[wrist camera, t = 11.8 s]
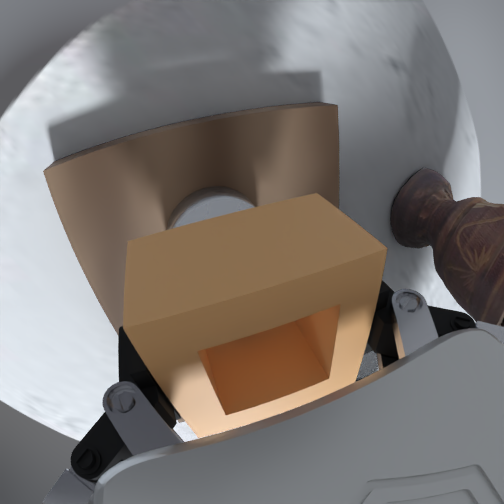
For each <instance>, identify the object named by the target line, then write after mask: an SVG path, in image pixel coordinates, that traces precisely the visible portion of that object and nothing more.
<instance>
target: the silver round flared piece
mask: <svg viewBox="0 0 504 504" xmlns="http://www.w3.org/2000/svg"><path fill="white" fill-rule="evenodd" d="M254 207H255V206H254V205H253V204H252V202H251V201H250V200H249V199H248V198H247V197H246V196H245V195H243V194H242V193H241V192H239V191H237V190H234V189H232V188H228V187H222V186H212V187H206V188H202V189H199V190H197V191H195V192H193V193H191V194H189V195H188V196H186V197H185V198H184V199H183V200H182V201H181V202H180V203H179V204H178V205H177V206H176V208H175V209H174V210H173V212H172V214H171V216H170V219H169V222H168V227H167V230H169V229H173V228H176V227H180V226H184V225H187V224H191V223H195V222H199V221H202V220H206V219H210V218H214V217H218V216H222V215H226V214H230V213H233V212H238V211H242V210H246V209H250V208H254Z"/></svg>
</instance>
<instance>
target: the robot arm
mask: <svg viewBox="0 0 504 504" xmlns="http://www.w3.org/2000/svg"><path fill="white" fill-rule="evenodd" d="M372 350H373V351H374V352H375V353H377V359H378V366H379V371H377V372H375V373H373V374H371V375H369V376H367V377H365V378H363V379H361V380H359V381H356V382H354V383H352V384H350V385H348V386H346V387H344V388H341V389H339V390H337V391H335V392H333V393H331V394H329V395H326V396H324V397H322V398H319V399H317V400H314V401H312V402H310V403H307V404H305V405H302V406H300V407H297V408H294V409H292V410H289V411H286V412H284V413H281V414H278V415H275V416H273V417H270V418H267V419H264V420H261V421H258V422H255V423H252V424H249V425H246V426H242V427H239V428H236V429H232V430H229V431H225V432H222V433H218V434H215V435H211V436H207V437H203V438H200V439H196V440H192V441H188V442H184V441H183V440H182V439H181V438H180V436H179V435H178V434H177V433H176V432H175V431H174V430H173V428H174V426H175V425H176V423H177V422H176V420H178V419H181V416H180V414H179V412H178V411H177V410H176V408H175V407H174V406H173V404H172V403H171V402H170V400H169V399H168V397H167V396H166V395H165V393H164V392H163V390H162V389H161V387H160V386H159V385H158V383H157V382H156V380H155V379H154V377H153V376H152V374H151V373H150V371H149V370H148V368H147V367H146V365H145V363H144V362H143V360H142V359H141V357H140V356H139V354H138V352H137V351H136V349H135V348H134V346H133V344H132V343H131V341H130V339H129V338H128V336H127V334H126V332H125V331H124V329H123V326H121V327H120V328H119V346H118V352H119V382H118V383H116V384H114V385H112V386H111V387H110V388H108V389H107V391H106V392H105V394H104V397H103V407H104V410H105V413H104V414H103V415H102V416H101V417H100V419H99V420H98V421H97V422H96V423H95V425H94V426H93V427H92V428H91V429H90V431H89V432H88V433H87V434H86V435H85V437H84V438H83V439H82V440H81V441H80V443H79V444H78V445H77V446H76V448H75V449H74V450H73V452H72V456H71V465H72V466H71V468H70V469H69V470H67V469H65V470H64V472H63V473H62V475H61V476H60V477H59V479H58V480H57V482H56V483H55V485H54V486H53V487H52V489H51V490H50V491H49V493H48V494H47V496H46V497H45V499H44V500H43V503H42V504H504V327H502V326H498V325H494V324H489V323H485V322H481V321H477V322H476V323H475V322H474V320H473V319H472V318H471V317H470V316H469V315H467V314H466V313H463V312H458V311H453V310H448V309H443V308H438V307H433V306H428V305H427V303H426V300H425V299H424V297H423V296H422V295H421V294H420V293H418V292H416V291H414V290H411V289H402V290H399V291H397V292H395V293H394V291H393V290H392V289H391V288H390V287H389V286H388V285H387V284H386V283H385V282H384V281H383V280H382V281H381V286H380V291H379V295H378V300H377V304H376V309H375V313H374V317H373V321H372V325H371V329H370V333H369V337H368V341H367V344H366V348H365V351H364V354H366V353H368V352H370V351H372Z"/></svg>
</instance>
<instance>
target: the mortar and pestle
mask: <svg viewBox="0 0 504 504" xmlns="http://www.w3.org/2000/svg"><path fill="white" fill-rule="evenodd" d="M391 225H392V230H393V233H394V236H395V238H396V240H397V241H398V243H399V244H401V245H403V246H405V247H411V248H422V247H427V246H429V245H430V246H431V247H432V249H433V257H434V264H435V269H436V271H437V273H438V275H439V276H440V278H441V279H442V281H443V282H444V284H445V286H446V288H447V289H448V290H449V292H450V293H451V294H452V296H453V297H454V299H455V300H456V301H457V303H458V304H459V305H460V306H461V307H462V308H463V309H464V310H465V311H466V312H467V313H468V314H469V315H471V317H473V319H474V320H475V321H476V322H477V321H481V322H485V323H489V324H494V325H498V326H502V327H504V204H493V203H489V202H487V201H486V200H484V199H482V198H480V197H471V198H467V199H464V200H460V201H457V202H456V201H454V200H453V195H452V191H451V186H450V184H449V182H448V181H447V180H446V179H445V178H444V177H443V176H442V175H441V174H439V173H438V172H436V171H434V170H431V169H427V168H424V167H423V168H422V170H420V171H418V172H417V173H416V174H415V175H413V176H412V177H411V178H410V179H409V180H408V182H407V183H406V184H405V185H404V186H403V187H402V188H401V190H400V192H399V194H398V196H397V198H396V199H395V200H394V204H393V207H392V213H391Z"/></svg>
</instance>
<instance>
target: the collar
mask: <svg viewBox="0 0 504 504" xmlns="http://www.w3.org/2000/svg"><path fill="white" fill-rule="evenodd" d="M386 254H387V247H385V246H384V245H383V244H382V243H381V242H379V241H378V240H377V239H376V238H375V237H373V236H372V235H371V234H370V233H368V232H367V231H366V230H365V229H363V228H362V227H361V226H360V225H358V224H357V223H356V222H355V221H353V220H352V219H351V218H349V217H348V216H347V215H346V214H344V213H343V212H342V211H340V210H339V209H338V208H336V207H335V206H334V205H332V204H331V203H330V202H328V201H327V200H326V199H324V198H323V197H322V196H320V195H319V194H318V193H314V194H310V195H305V196H301V197H296V198H292V199H288V200H283V201H279V202H275V203H270V204H266V205H262V206H258V207H254V208H250V209H246V210H242V211H238V212H233V213H230V214H226V215H222V216H218V217H214V218H210V219H206V220H202V221H199V222H195V223H191V224H187V225H184V226H180V227H176V228H173V229H169V230H165V231H162V232H158V233H155V234H151V235H148V236H144V237H141V238H137V239H134V240H130V241H128V244H127V256H126V269H125V285H124V309H123V329H124V331H125V332H126V334H127V336H128V338H129V339H130V341H131V343H132V344H133V346H134V348H135V349H136V351H137V352H138V354H139V356H140V357H141V359H142V360H143V362H144V363H145V365H146V367H147V368H148V370H149V371H150V373H151V374H152V376H153V377H154V379H155V380H156V382H157V383H158V385H159V386H160V387H161V389H162V390H163V392H164V393H165V395H166V396H167V397H168V399H169V400H170V402H171V403H172V404H173V406H174V407H175V408H176V410H177V411H178V412H179V414H180V415H181V416H182V418H183V419H184V420H185V422H186V423H187V424H188V425H189V427H190V428H191V429H192V430H193V432H194V433H195V434H196V435H197V437H198V438H200V437H204V436H208V435H212V434H216V433H220V432H224V431H227V430H231V429H234V428H238V427H241V426H244V425H248V424H251V423H254V422H257V421H260V420H263V419H266V418H269V417H272V416H275V415H278V414H280V413H283V412H286V411H288V410H291V409H294V408H296V407H299V406H302V405H304V404H307V403H309V402H312V401H314V400H316V399H319V398H321V397H323V396H326V395H328V394H330V393H333V392H335V391H337V390H339V389H341V388H344V387H346V386H348V385H350V384H352V383H354V382H355V381H356V378H357V375H358V372H359V368H360V365H361V362H362V358H363V355H364V351H365V348H366V344H367V341H368V337H369V333H370V329H371V325H372V321H373V317H374V313H375V309H376V304H377V300H378V295H379V291H380V286H381V281H382V276H383V271H384V266H385V260H386Z"/></svg>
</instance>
